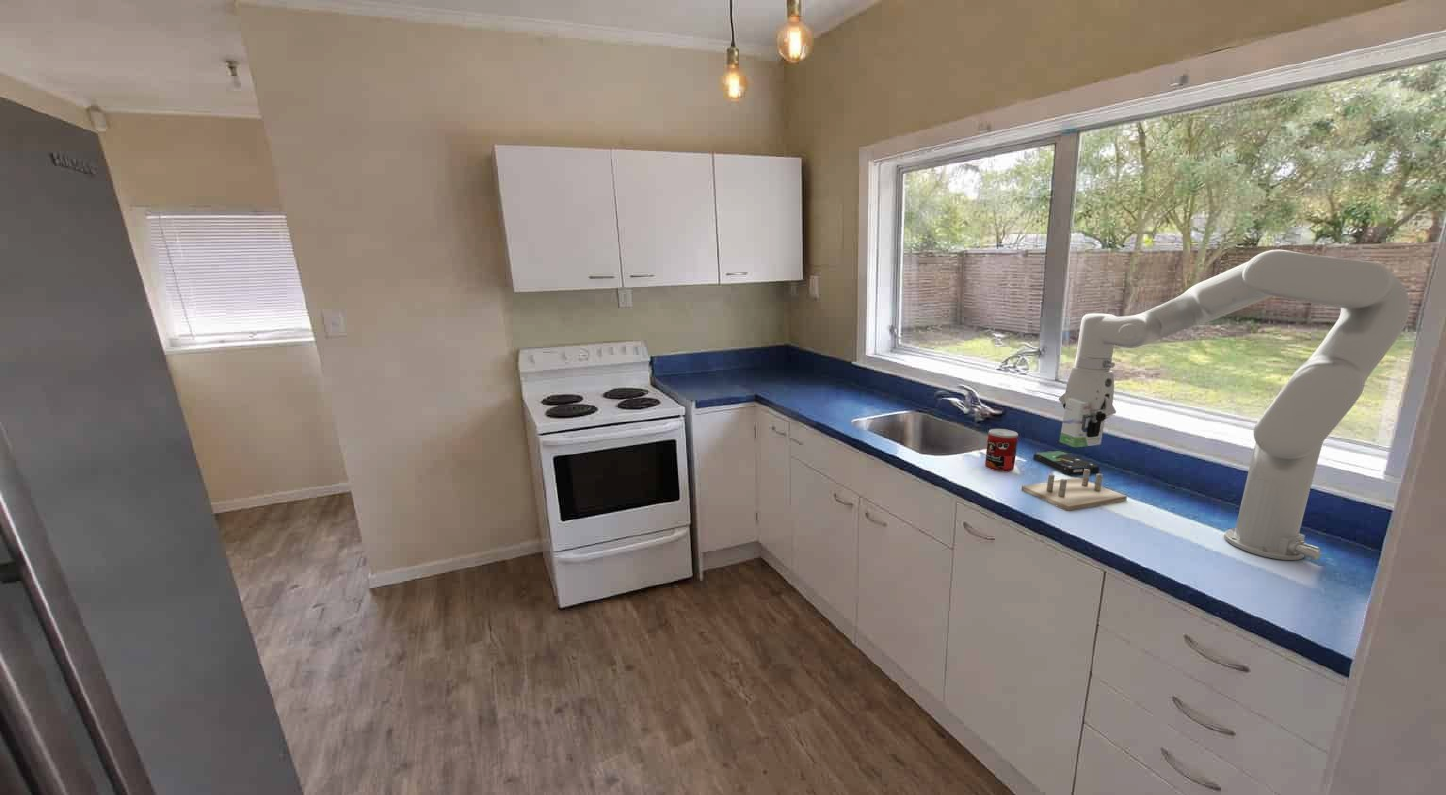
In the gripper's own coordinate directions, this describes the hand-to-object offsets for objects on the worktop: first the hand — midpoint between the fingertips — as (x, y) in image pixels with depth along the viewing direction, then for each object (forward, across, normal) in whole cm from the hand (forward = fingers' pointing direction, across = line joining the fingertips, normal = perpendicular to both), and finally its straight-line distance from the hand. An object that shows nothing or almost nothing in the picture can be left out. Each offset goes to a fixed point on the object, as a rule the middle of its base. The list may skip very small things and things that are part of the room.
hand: (1081, 432), depth 144 cm
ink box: (+3, 0, 0) cm, 3 cm away
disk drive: (+18, +18, -18) cm, 31 cm away
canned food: (+18, +23, +2) cm, 29 cm away
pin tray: (+17, 0, 0) cm, 17 cm away
